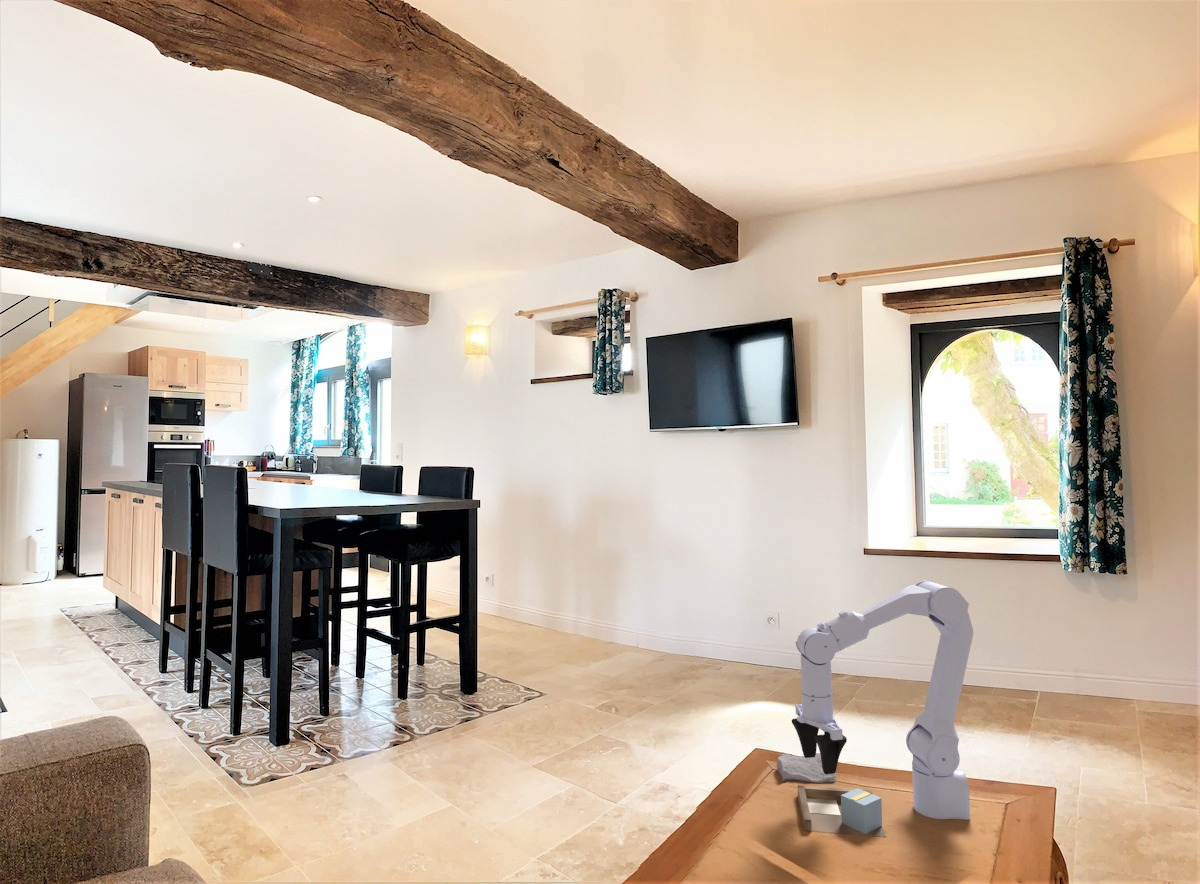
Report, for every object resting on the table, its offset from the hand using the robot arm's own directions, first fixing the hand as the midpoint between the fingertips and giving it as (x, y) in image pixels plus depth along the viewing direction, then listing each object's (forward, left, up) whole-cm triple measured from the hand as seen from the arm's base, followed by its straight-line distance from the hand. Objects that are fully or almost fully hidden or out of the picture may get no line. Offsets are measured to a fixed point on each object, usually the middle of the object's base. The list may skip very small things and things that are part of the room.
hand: (819, 764), depth 135 cm
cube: (-7, +4, -9) cm, 12 cm away
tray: (-3, +1, -10) cm, 10 cm away
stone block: (+1, -17, -10) cm, 20 cm away
